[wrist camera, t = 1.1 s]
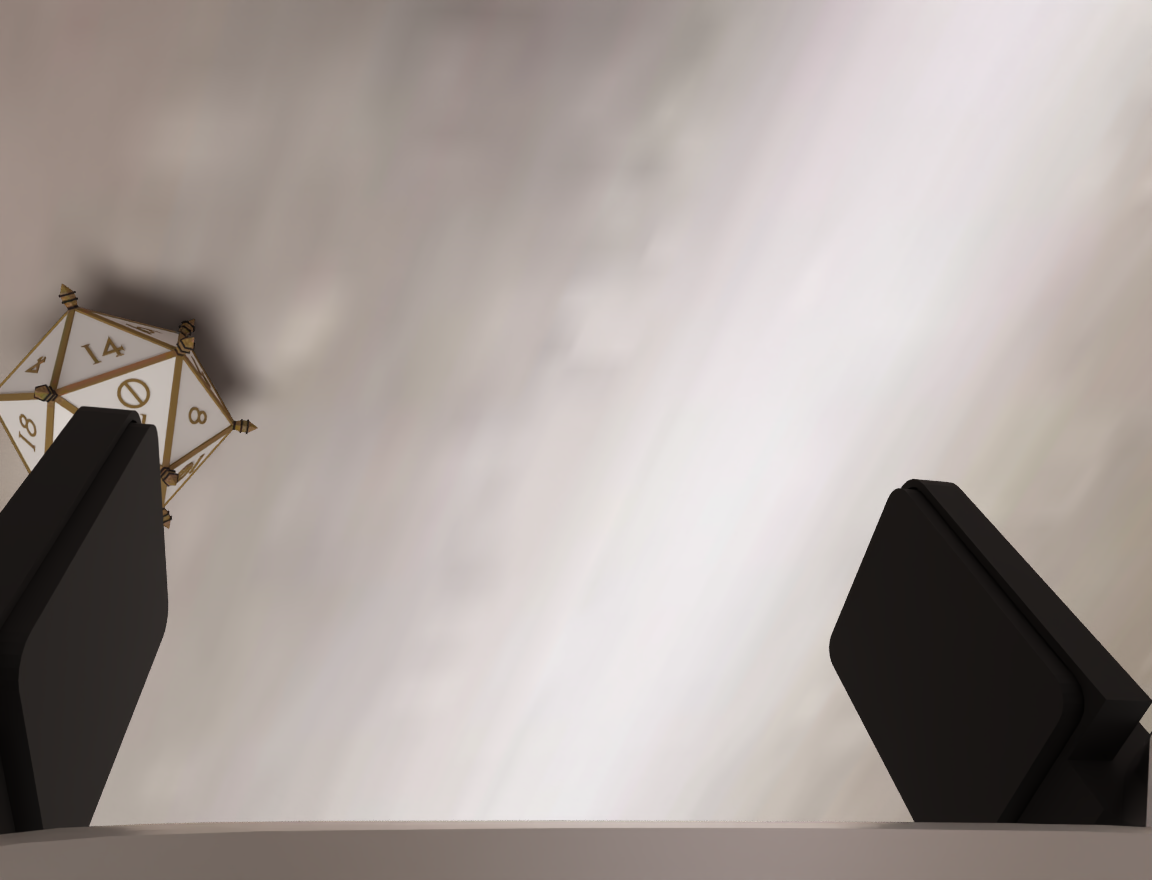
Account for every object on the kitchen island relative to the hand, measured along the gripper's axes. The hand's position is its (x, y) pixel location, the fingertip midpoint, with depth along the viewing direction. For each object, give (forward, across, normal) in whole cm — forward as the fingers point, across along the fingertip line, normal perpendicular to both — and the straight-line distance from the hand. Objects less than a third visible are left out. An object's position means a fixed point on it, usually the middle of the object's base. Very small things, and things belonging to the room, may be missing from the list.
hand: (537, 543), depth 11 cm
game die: (+26, +12, +12) cm, 31 cm away
